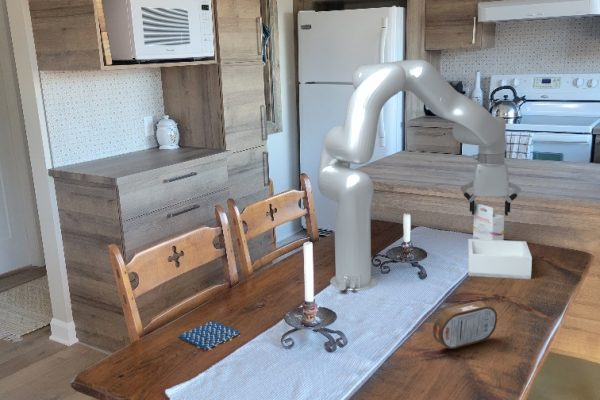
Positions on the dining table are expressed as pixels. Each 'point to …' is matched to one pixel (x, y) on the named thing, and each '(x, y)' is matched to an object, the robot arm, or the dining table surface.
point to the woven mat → (209, 335)
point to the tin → (465, 324)
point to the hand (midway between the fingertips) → (489, 214)
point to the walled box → (499, 259)
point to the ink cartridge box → (487, 224)
